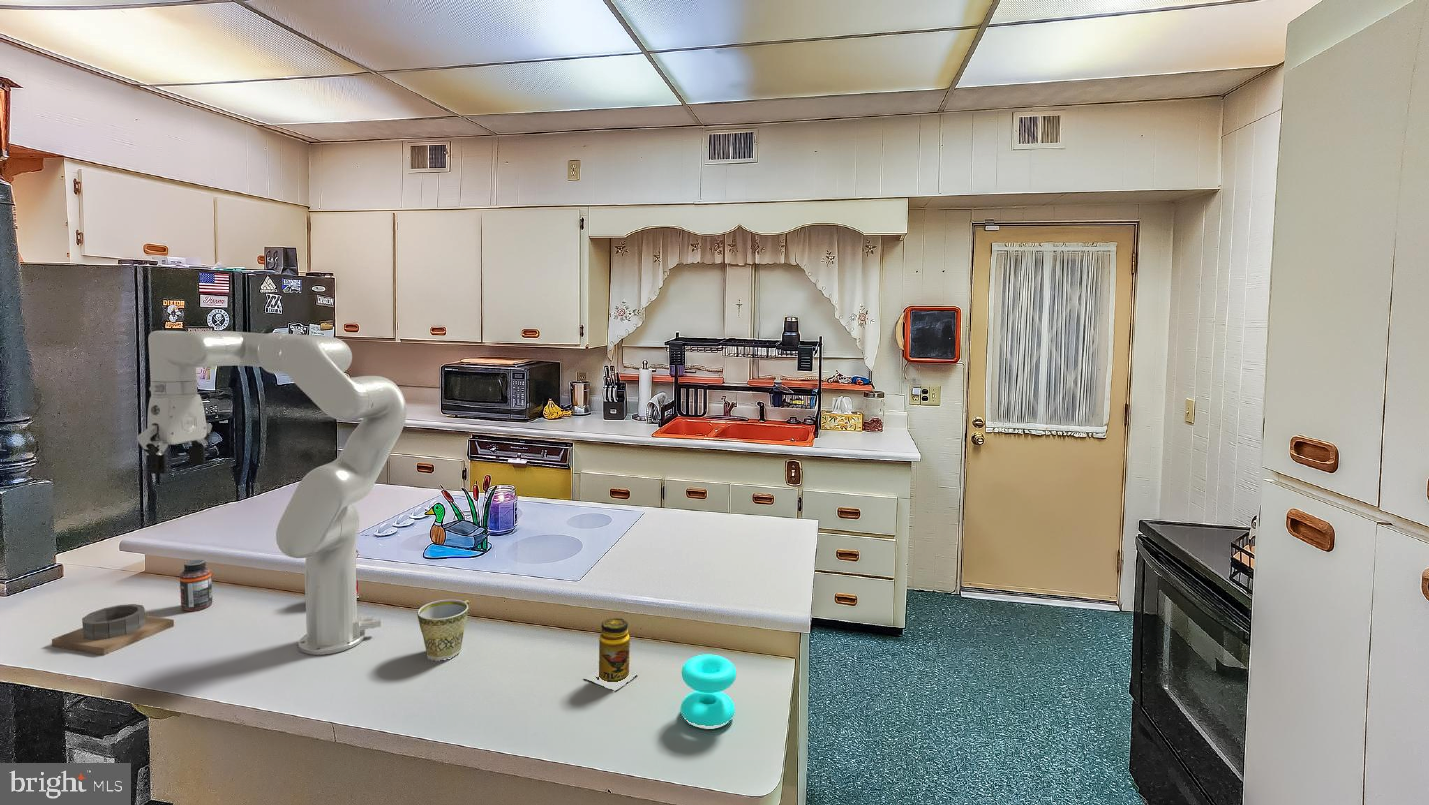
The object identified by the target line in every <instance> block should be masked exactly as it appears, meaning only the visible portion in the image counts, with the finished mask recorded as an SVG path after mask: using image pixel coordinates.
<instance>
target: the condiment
mask: <svg viewBox="0 0 1429 805" xmlns="http://www.w3.org/2000/svg"><path fill="white" fill-rule="evenodd" d="M600 626H601V630H600V635H599V639H598V644H599V646H598V651H599V652H598V654H599V655H598V669H599V677H600V678H601V679H602V680H604V681H607V682H618V681H621V680H623V679H625V678H626V677H627V676H628V675H629V672H630V661H631V660H630V655H631V654H630V653H631V652H630V647H631V646H630V644H631V643H630V640H631V637H630V634H629V629H628V628H629V623H628V621H627V620H626V619H624V618H622V617H611V618H610V617H609V618H607V619H605V620H603V621H602V623H601V625H600Z"/></svg>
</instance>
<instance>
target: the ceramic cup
mask: <svg viewBox="0 0 1429 805" xmlns="http://www.w3.org/2000/svg"><path fill="white" fill-rule="evenodd" d="M470 606H471V605H470V600H468V599H462V600H459V599H442V600H436V601H431V602H428V603H426V604H424V605H422V606H421V607H420V608H419V609H418V610H417V612H416V613H417V620H418V624H419V627H420V631H421V634H422V638H423V642H424V646H425V653H426V657H427V659H428V660H429V659H431V660H430V661H433V660H435V661H434V662H437V661H439V662H441V661H440V660H444V659H448V658H452V657H453V656H455V655H457V654H458V653H461V650H462V645H463V644H462V643H463V638H464V632H465V627H466V625H467V624H466V623H467V618H468V614H469V609H470ZM458 655H459V654H458ZM458 655H457V656H458ZM455 657H456V656H455ZM452 659H453V658H452ZM444 661H445V660H444Z"/></svg>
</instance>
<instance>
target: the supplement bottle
mask: <svg viewBox="0 0 1429 805" xmlns="http://www.w3.org/2000/svg"><path fill="white" fill-rule="evenodd" d="M206 565H207V564H206V560H205V559H202V558H201V559H192V560H188V561H186V562H185V563H184V564H183V567H184V568H183V571H182V572H181V573H180V574H179V587H180V588H179V589H180V591H179V592H180V606H181V610H182V611H185V612H196V611H201V610H205V609H207V608H209V607H210V606H211V605H212V604H213V585H212V584H213V582H212V581H213V580H212V571H211V569H210V568H208V567H206Z"/></svg>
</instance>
